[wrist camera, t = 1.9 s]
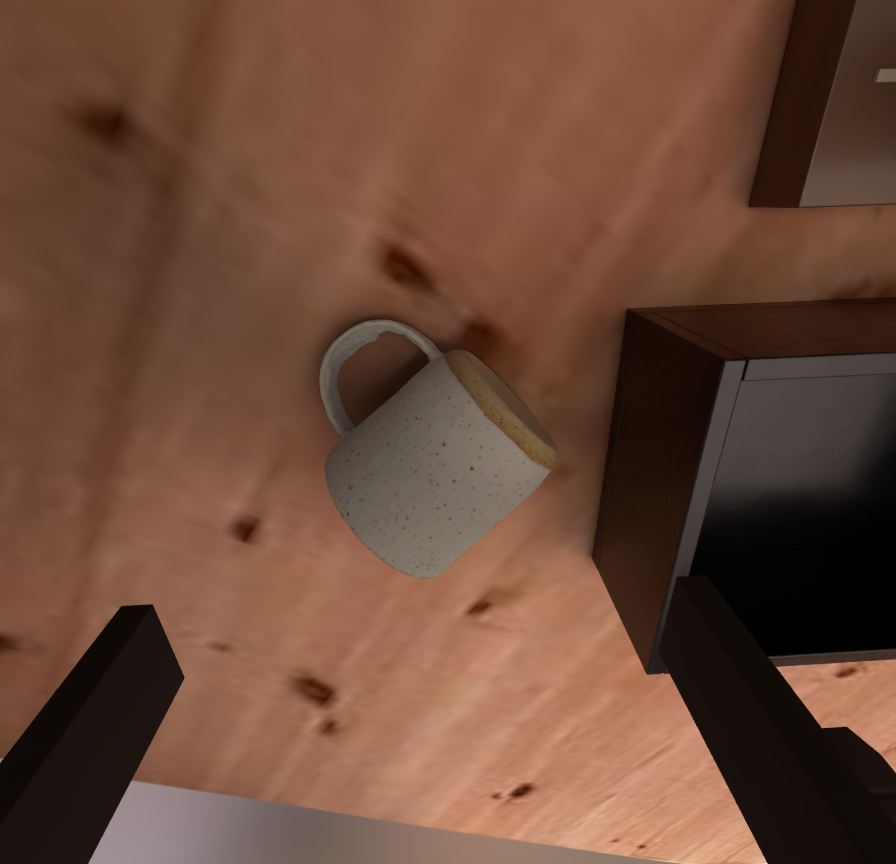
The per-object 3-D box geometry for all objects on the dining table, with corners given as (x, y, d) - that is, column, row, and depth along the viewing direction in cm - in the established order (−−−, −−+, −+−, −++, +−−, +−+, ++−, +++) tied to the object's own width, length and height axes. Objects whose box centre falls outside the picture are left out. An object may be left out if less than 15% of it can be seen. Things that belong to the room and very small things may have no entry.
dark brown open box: (591, 558, 29) (646, 675, 22) (627, 308, 22) (724, 359, 15) (924, 540, 29) (1084, 648, 22) (1062, 289, 22) (1360, 330, 15)
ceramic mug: (548, 416, 24) (594, 498, 17) (440, 509, 27) (443, 614, 20) (398, 269, 21) (381, 298, 14) (290, 391, 23) (229, 467, 16)
